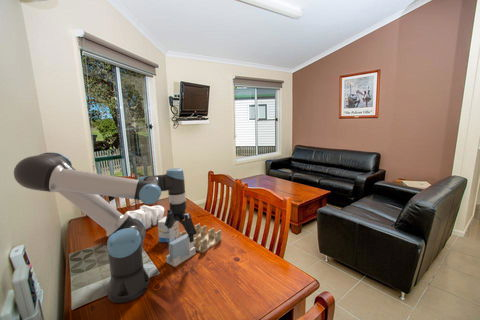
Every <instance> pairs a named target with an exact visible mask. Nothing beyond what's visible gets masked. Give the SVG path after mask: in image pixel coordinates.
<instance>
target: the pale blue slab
mask: <svg viewBox="0 0 480 320" xmlns="http://www.w3.org/2000/svg"><path fill="white" fill-rule="evenodd" d="M187 236H188V234H187V233H186V234H185V235H183V236H181V237H179V236H178V237H177V239H175V240H173V241H172V242H168V252H169V253H168V255H170V261H171V262H172V259H174V258H175V257H177V256H180V259H181V258H183V257H185V256H186V255H188V250H189V249H188V241H187Z"/></svg>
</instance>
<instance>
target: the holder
mask: <svg viewBox="0 0 480 320" xmlns="http://www.w3.org/2000/svg"><path fill="white" fill-rule="evenodd" d="M196 252H197V251H196V250H195V247H193V248H191V249H189V250H188V255H186V256H185V257H183V258H181V259H180V256H177V257H175V258H174V259H172V262H171V261H170V255H169V254H168V255H166V256H165V263H167V264H169V265H170V266H173V267H174V268H176V267H177V266H179V265H180V264H182V263H183V262H185V261H186V260H188V259H190V258H191V257H193V256H194V255H197V253H196Z"/></svg>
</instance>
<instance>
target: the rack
mask: <svg viewBox="0 0 480 320" xmlns="http://www.w3.org/2000/svg"><path fill="white" fill-rule="evenodd" d="M194 227H195V230H196V232H197V234H195V235H193V237H194V241H193V245H194V247H195V251H196V252H198V253H201V254H203V253H205V252H206V251H207V250H210V249H211V248H212V247H214V246H215V245H216V244H218V243H219V242H221V241H222V230H221V229H219V230H217V231H216V232H215V228H214V227H212V228H209V229H208V228H207V225H206V224H205V225H203V226H201V223H200V222H199V223H197V224H195V225H194ZM185 234H187V232H186V230H183V231H181V232H179V236H178V238H179V237H181V236H183V235H185Z"/></svg>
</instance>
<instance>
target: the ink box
mask: <svg viewBox="0 0 480 320" xmlns="http://www.w3.org/2000/svg"><path fill="white" fill-rule="evenodd" d="M166 217H167V215H166V216H163V218H162V219H161V220H160V221H158V220H157V229H158V230H157V231H158V242H159V243H170V241H169V233H168V228H167V226H165V221H166ZM173 225H174V226H172V227H174V235H175V239H177V238H179V233H180V227H179V221H175V223H174V224H173ZM175 239H174V240H175ZM172 241H173V240H172ZM172 241H171V242H172Z"/></svg>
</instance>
